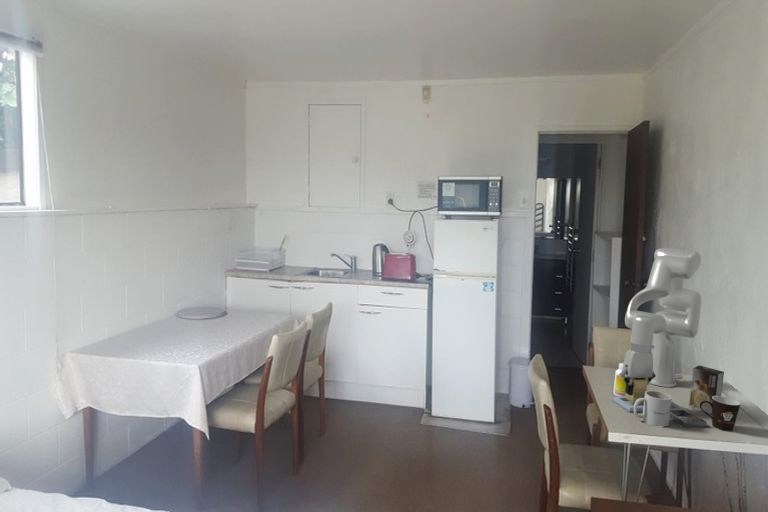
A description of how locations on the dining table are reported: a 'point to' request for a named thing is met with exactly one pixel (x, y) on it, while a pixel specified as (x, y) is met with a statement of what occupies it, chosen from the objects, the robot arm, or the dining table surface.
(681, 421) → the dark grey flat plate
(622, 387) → the supplement bottle
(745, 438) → the dining table surface
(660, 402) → the mug
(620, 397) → the parts tray
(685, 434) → the dining table surface
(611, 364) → the dining table surface
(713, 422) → the coffee mug
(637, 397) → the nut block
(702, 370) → the coffee box
